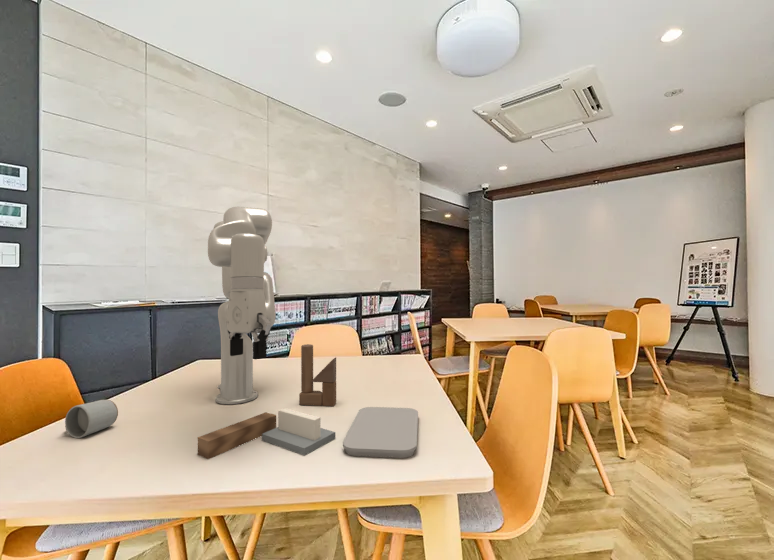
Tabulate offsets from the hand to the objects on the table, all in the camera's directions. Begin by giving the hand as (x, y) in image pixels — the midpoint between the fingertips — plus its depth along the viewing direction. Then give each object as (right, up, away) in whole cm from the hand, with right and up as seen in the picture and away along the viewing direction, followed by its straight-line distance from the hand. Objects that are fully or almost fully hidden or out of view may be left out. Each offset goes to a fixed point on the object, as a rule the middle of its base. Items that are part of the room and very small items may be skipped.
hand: (247, 356), depth 86 cm
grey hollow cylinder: (-42, -20, +4) cm, 47 cm away
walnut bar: (-1, -20, -2) cm, 20 cm away
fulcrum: (+12, -19, -1) cm, 23 cm away
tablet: (+33, -20, +2) cm, 38 cm away
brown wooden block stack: (+12, -20, +24) cm, 34 cm away
